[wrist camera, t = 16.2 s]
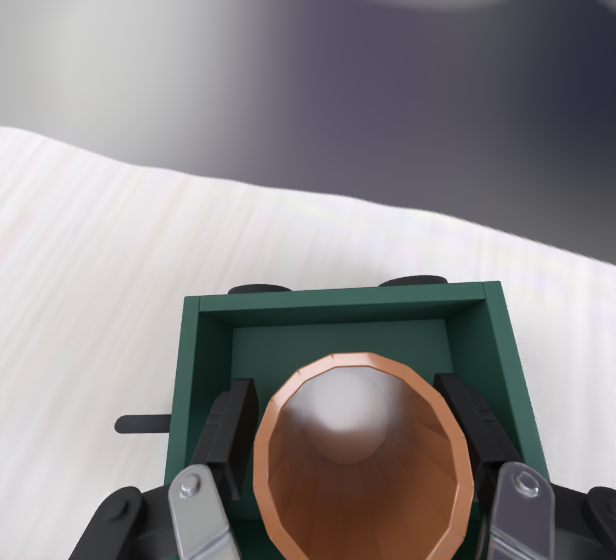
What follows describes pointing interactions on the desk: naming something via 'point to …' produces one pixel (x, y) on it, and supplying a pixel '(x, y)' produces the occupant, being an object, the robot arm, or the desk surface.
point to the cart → (340, 339)
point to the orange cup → (361, 464)
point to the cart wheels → (163, 421)
